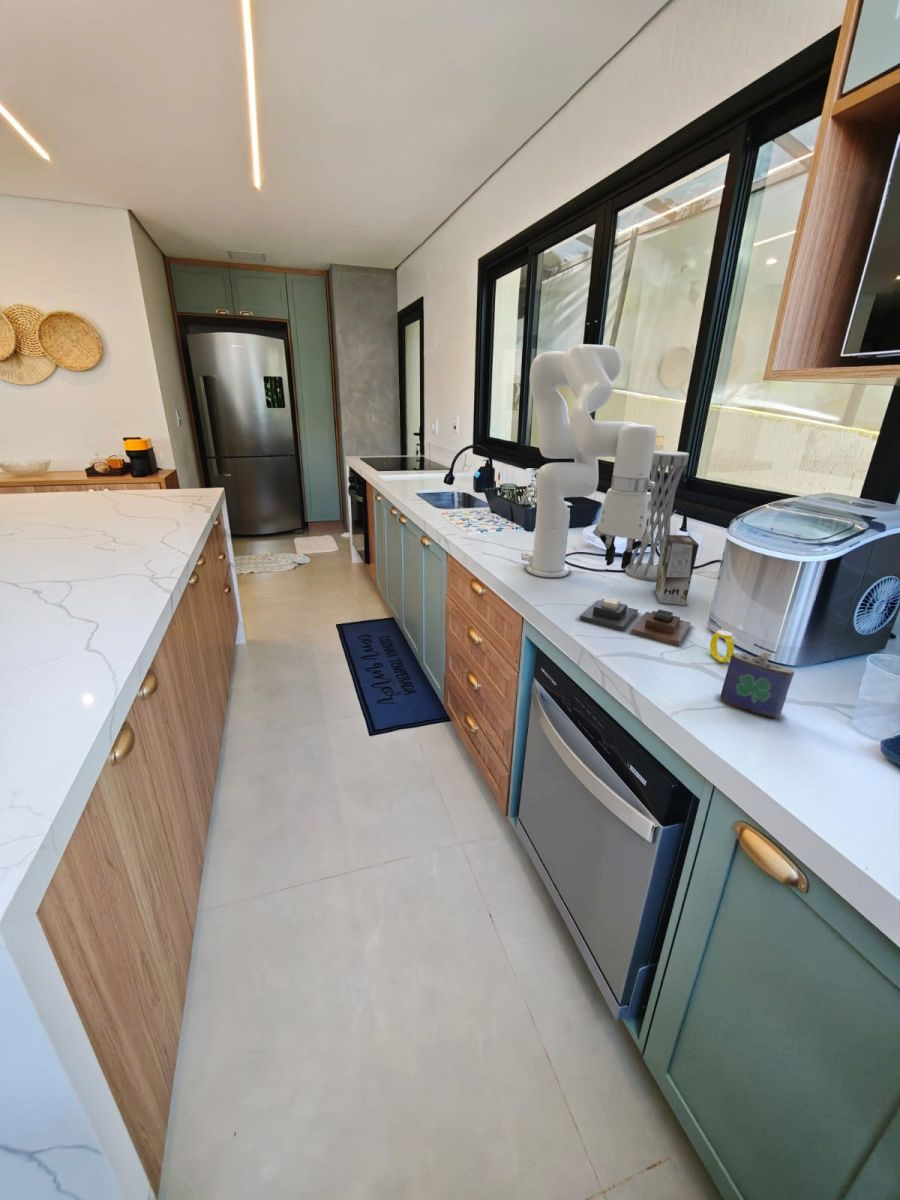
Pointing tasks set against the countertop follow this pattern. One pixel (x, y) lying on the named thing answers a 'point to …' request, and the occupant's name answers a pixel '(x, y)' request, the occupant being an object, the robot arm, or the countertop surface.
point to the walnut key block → (661, 629)
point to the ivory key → (611, 603)
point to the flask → (756, 685)
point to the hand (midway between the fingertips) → (617, 564)
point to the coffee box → (676, 569)
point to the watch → (729, 644)
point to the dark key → (663, 616)
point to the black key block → (609, 615)
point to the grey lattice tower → (659, 510)
